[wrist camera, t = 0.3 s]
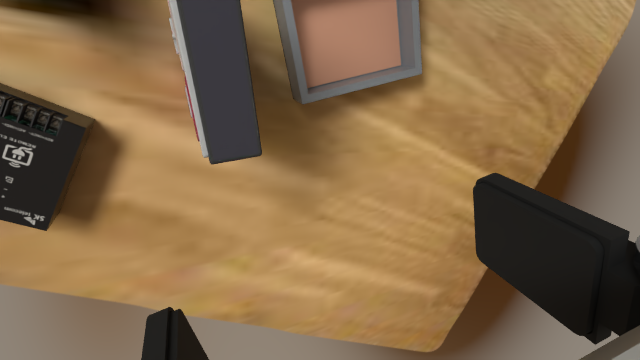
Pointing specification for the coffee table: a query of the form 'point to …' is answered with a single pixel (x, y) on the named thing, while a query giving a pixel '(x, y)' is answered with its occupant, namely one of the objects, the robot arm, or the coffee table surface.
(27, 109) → the wireless controller
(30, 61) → the coffee table surface
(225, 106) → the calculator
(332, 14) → the sorting tray
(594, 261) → the robot arm
